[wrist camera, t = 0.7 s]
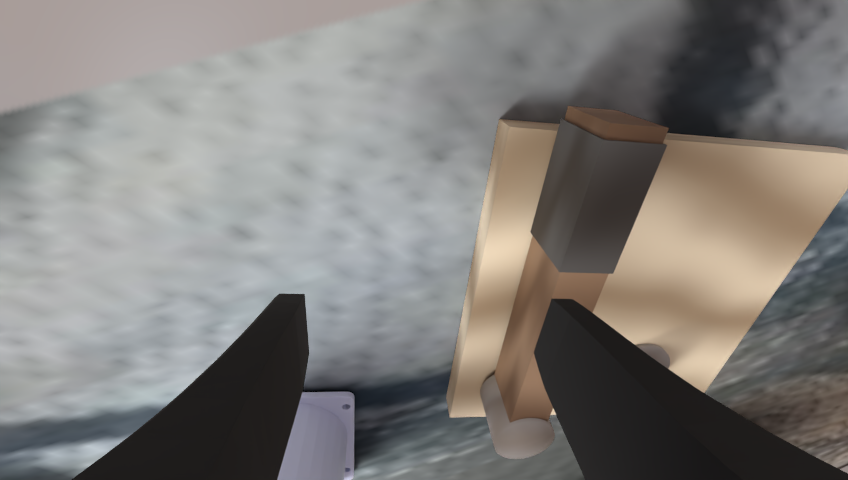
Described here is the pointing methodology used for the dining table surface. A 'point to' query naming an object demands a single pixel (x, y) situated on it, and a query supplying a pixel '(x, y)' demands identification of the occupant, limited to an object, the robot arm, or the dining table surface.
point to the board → (656, 248)
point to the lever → (569, 256)
